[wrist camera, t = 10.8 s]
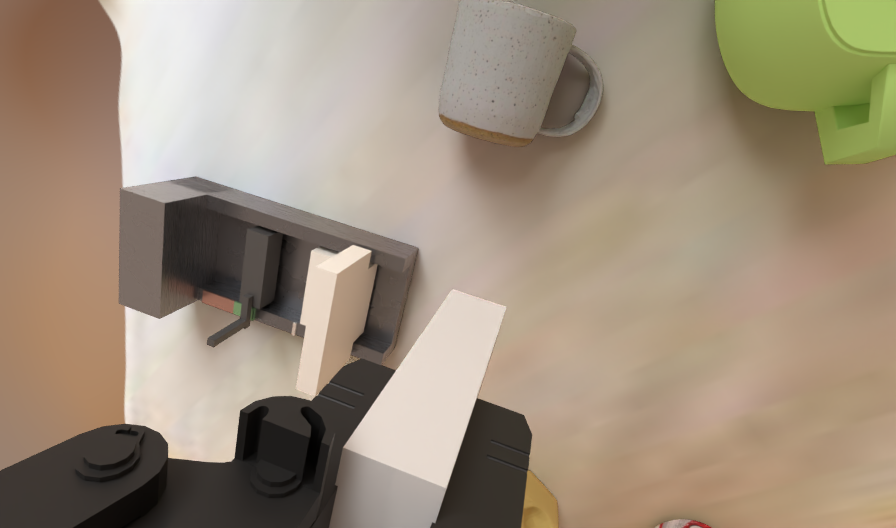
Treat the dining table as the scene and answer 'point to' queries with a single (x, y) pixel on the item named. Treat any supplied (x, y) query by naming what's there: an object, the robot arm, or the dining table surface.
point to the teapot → (819, 67)
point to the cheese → (538, 505)
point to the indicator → (255, 277)
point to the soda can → (682, 524)
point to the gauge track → (222, 256)
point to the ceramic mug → (509, 73)
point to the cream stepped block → (333, 312)
